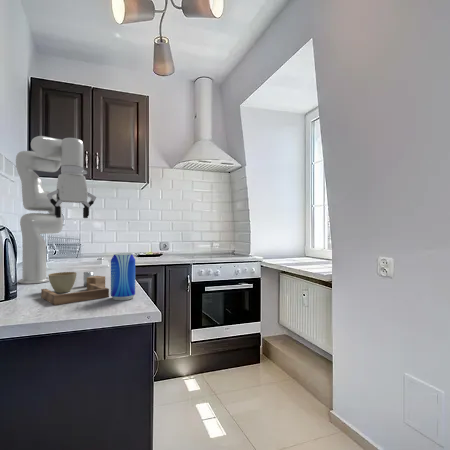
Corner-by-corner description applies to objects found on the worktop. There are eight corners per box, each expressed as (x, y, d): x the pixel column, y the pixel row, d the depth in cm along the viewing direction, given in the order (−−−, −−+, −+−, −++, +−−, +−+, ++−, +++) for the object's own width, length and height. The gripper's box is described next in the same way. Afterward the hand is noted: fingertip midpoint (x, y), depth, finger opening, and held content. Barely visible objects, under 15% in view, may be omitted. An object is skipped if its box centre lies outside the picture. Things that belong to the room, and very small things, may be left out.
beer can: (110, 296, 121) (110, 253, 121) (134, 295, 124) (134, 252, 124) (111, 301, 113) (111, 254, 113) (136, 299, 116) (136, 254, 116)
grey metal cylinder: (82, 286, 142) (82, 272, 142) (91, 285, 144) (91, 271, 144) (85, 287, 139) (85, 273, 139) (95, 286, 141) (95, 272, 141)
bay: (41, 297, 119) (41, 289, 119) (91, 290, 131) (91, 283, 132) (54, 305, 108) (54, 296, 108) (108, 296, 120) (108, 288, 120)
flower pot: (69, 288, 137) (69, 271, 137) (81, 291, 130) (81, 273, 130) (43, 292, 129) (43, 273, 129) (55, 295, 123) (55, 276, 123)
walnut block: (86, 289, 135) (86, 277, 135) (96, 287, 139) (96, 275, 139) (95, 290, 132) (95, 278, 132) (105, 288, 137) (105, 276, 137)
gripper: (92, 175, 132) (91, 218, 132) (44, 170, 120) (43, 217, 120) (99, 173, 126) (99, 218, 126) (49, 168, 115) (49, 217, 115)
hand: (72, 217), depth 123 cm, fingers open, 9 cm apart
